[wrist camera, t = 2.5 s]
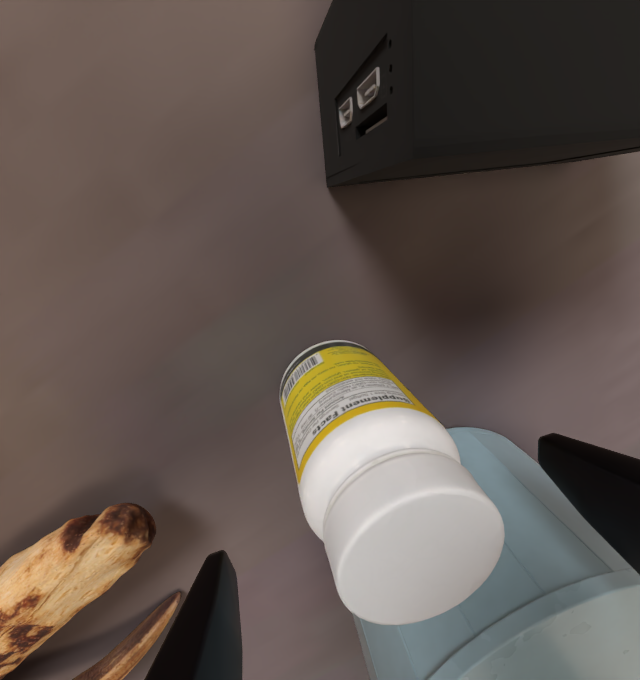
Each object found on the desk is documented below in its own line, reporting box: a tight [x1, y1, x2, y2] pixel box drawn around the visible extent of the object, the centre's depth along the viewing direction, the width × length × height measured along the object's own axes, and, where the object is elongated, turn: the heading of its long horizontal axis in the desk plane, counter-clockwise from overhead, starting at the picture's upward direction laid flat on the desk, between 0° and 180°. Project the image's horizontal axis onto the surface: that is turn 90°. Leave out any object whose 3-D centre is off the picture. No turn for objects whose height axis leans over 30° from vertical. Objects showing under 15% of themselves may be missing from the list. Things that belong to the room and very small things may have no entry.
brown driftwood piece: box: [0, 503, 181, 680], centre depth 14 cm, size 9×5×18 cm
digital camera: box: [314, 0, 640, 187], centre depth 9 cm, size 10×5×7 cm, turn 96°
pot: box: [352, 427, 632, 680], centre depth 16 cm, size 12×12×8 cm
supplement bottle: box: [279, 340, 505, 625], centre depth 11 cm, size 5×5×8 cm
